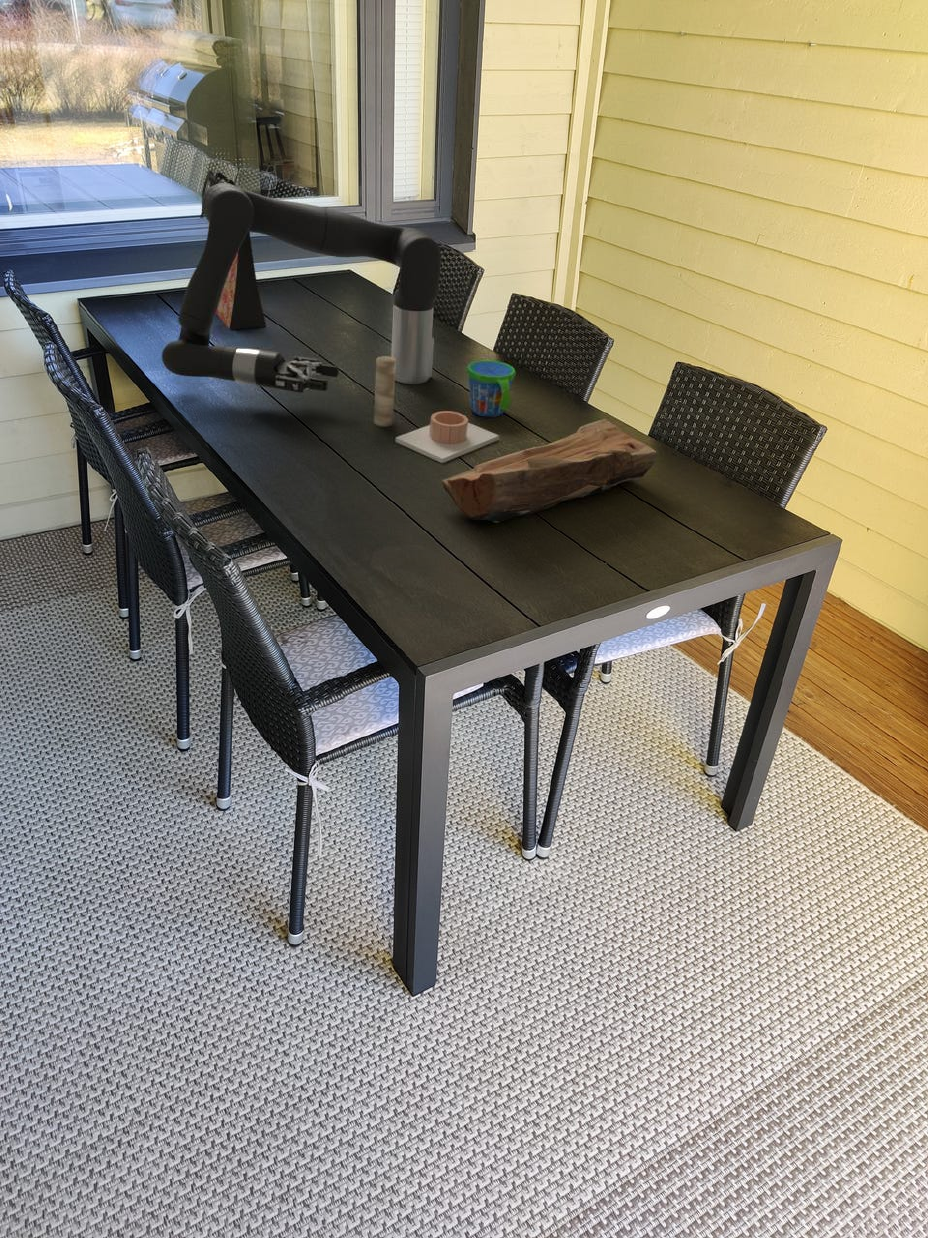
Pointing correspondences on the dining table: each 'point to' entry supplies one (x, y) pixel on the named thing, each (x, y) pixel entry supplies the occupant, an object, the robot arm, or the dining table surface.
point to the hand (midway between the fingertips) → (332, 378)
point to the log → (550, 473)
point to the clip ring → (448, 427)
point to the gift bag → (239, 282)
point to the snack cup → (490, 387)
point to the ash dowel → (384, 391)
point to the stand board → (446, 452)
